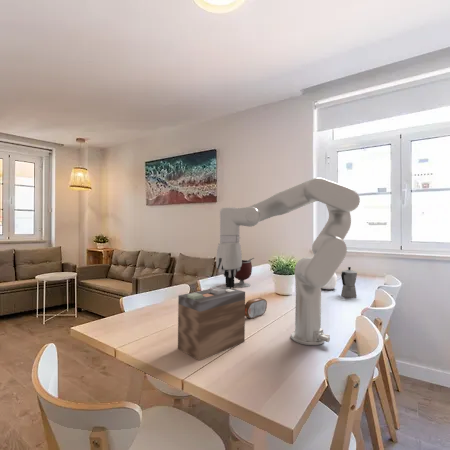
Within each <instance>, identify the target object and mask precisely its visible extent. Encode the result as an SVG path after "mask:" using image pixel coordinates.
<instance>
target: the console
mask: <svg viewBox="0 0 450 450" xmlns="http://www.w3.org/2000/svg"><path fill="white" fill-rule="evenodd" d="M216 288H221V289H225V290H226V289H232V290H235V291H231V292H227V291H226V293H222V294H215V293H211V289H216ZM192 293H199V294H202V295H203V294H207V293H208V294H212V295H213V296H209V297H205V296H203V298H200V299H196V300H193V299H190V298H187V294H192ZM177 299H178V300H177V302H178V304H177V307H178V308H177V312H178V313H177V316H178V317H177V321H178V322H177V350H179V351H181V352H183V353H185V354H186V355H188V356H190V357H192V358H194V359H196V360H197V361H200V362H201V360H205V359H206V358H209V357H212V356H213V355H217V354H218V353H221V352H223V351H225V350H229V349H231V348H233V347H235V346H238V345H240V344H242V343H245V339H246V338H245V335H246V333H245V331H246V329H245V327H246V326H245V325H246V322H245V321H246V320H245V319H246V317H245V304H246V291H244V290H239V289H236V288H228V287H226V286H218V287H213V288H209V289H208V288H207V289H202V290H199V291H195V292H193V291H192V292H189V293H185V294H179V295H178V298H177Z"/></svg>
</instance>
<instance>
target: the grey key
mask: <svg viewBox="0 0 450 450" xmlns="http://www.w3.org/2000/svg"><path fill="white" fill-rule="evenodd" d="M215 288H216V289H212V288H210V289H211V293H215V294H222V293H226V290H225V289H221V288H217V287H215Z"/></svg>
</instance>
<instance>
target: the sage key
mask: <svg viewBox="0 0 450 450" xmlns="http://www.w3.org/2000/svg"><path fill="white" fill-rule="evenodd" d="M191 293H192V294H188V293H186V294H187V298H190V299H193V300H196V299H200V298H203V295H202V294H199V293H193V292H191Z"/></svg>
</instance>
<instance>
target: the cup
mask: <svg viewBox="0 0 450 450" xmlns="http://www.w3.org/2000/svg"><path fill="white" fill-rule="evenodd" d="M337 281H338V276H337V274H336V272H335V274H334V275H333V276H332V278H331V279H330V281H329V282H328V283H327V284H326V285H324V286H323V287H321V290H322V289H323V290H333V289H335V288H336V286H337Z"/></svg>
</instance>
